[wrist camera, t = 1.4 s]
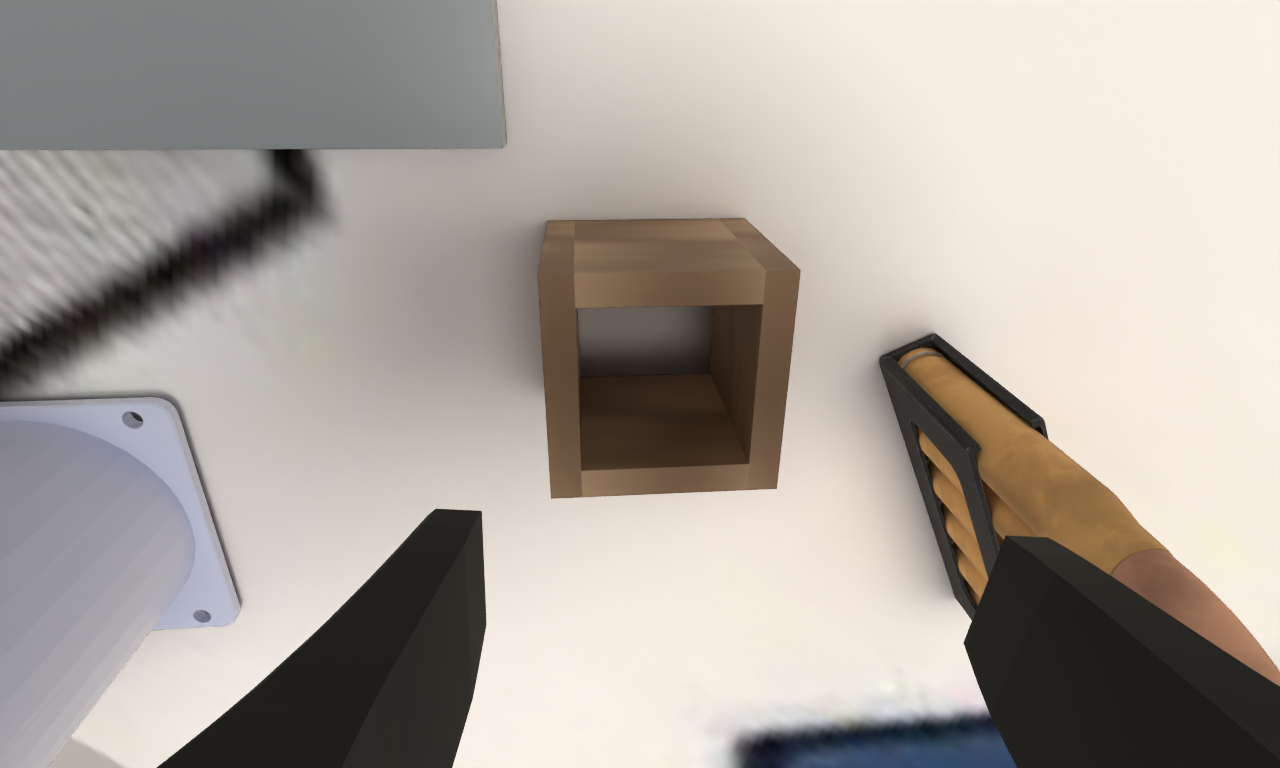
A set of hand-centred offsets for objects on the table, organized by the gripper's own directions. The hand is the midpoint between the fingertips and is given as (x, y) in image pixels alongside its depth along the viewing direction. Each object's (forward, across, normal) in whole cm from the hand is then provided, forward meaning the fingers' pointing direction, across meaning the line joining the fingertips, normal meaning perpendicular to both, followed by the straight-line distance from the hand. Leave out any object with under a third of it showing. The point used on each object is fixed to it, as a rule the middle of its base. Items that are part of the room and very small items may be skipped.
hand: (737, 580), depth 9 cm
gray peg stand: (+10, +11, -9) cm, 17 cm away
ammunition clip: (+11, -9, +6) cm, 16 cm away
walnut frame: (+11, +1, 0) cm, 11 cm away
